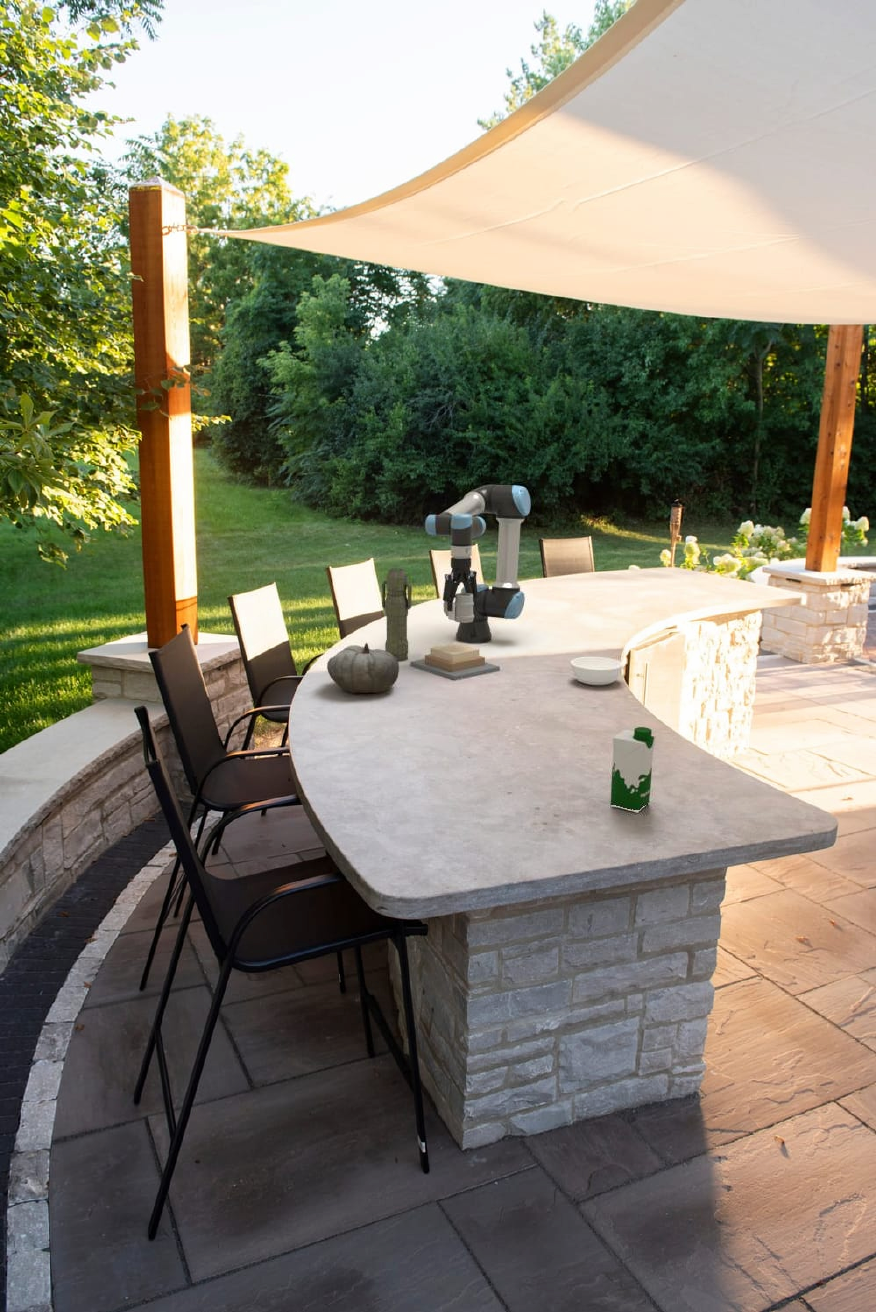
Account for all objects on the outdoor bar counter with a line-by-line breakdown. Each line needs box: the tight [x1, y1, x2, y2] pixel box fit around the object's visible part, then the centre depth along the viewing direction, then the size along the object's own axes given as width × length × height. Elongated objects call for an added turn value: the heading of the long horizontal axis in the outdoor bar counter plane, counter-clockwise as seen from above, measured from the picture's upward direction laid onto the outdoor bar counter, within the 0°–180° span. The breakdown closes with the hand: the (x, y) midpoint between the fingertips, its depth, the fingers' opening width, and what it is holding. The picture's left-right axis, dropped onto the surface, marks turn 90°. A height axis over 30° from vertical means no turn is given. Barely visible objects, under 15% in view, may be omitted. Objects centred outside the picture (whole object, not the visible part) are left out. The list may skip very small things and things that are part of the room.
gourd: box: [326, 642, 400, 694], centre depth 323 cm, size 25×25×17 cm
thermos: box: [381, 568, 413, 663], centre depth 361 cm, size 9×12×35 cm
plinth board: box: [409, 642, 501, 681], centre depth 352 cm, size 26×22×8 cm
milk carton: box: [610, 726, 656, 810], centre depth 227 cm, size 9×9×20 cm
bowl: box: [570, 656, 623, 686], centre depth 335 cm, size 18×18×7 cm
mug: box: [442, 592, 474, 624], centre depth 346 cm, size 8×12×12 cm, turn 72°
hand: (460, 618), depth 348 cm, fingers closed on mug, 8 cm apart
